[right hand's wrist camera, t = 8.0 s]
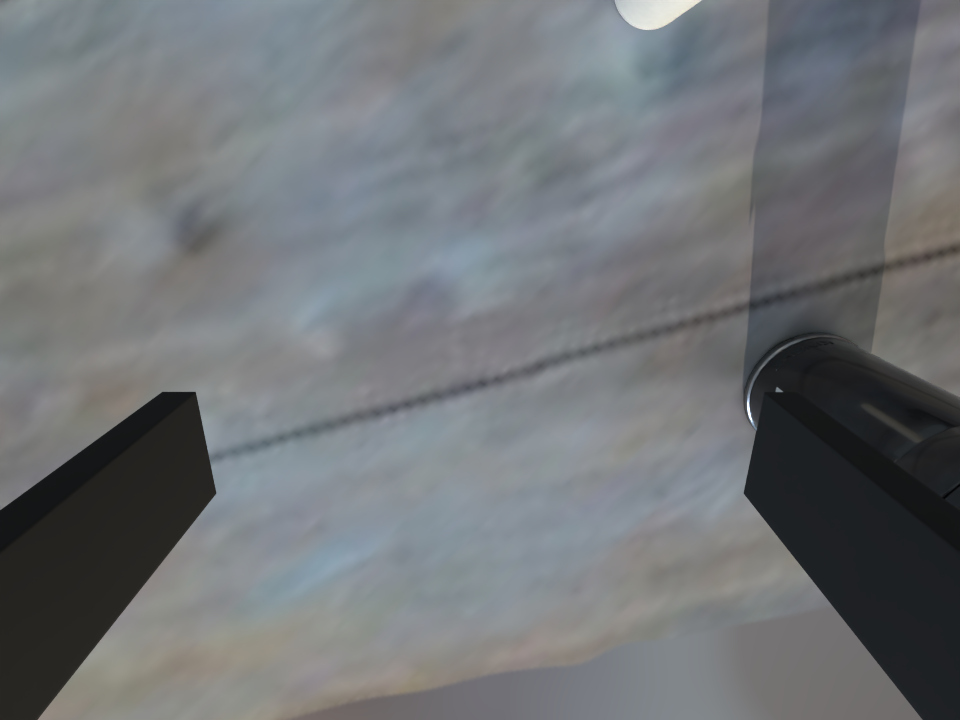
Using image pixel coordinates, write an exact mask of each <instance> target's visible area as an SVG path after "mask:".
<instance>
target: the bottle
mask: <svg viewBox="0 0 960 720" xmlns="http://www.w3.org/2000/svg"><path fill="white" fill-rule="evenodd" d="M700 1H701V0H615V4H616V6H617V9H618V11H619V13H620V14H621V16H622V17H623V18H624V19H625V20H626V21H627V22H628V23H629V24H631V25H632V26H634V27H636V28H639V29H644V30H652V29H657V28H660V27H663V26H665V25H667V24H669V23H670V22H671V21H673V20H674V19H676V18H677V17H679V16H680V15H681V14H683V13H684V12H686V11H687V10H689V9H690V8H691V7H693V6H694V5H696V4H697V3H699V2H700Z"/></svg>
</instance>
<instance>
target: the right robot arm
mask: <svg viewBox="0 0 960 720" xmlns="http://www.w3.org/2000/svg"><path fill="white" fill-rule="evenodd" d="M215 494H216V490H215V485H214V480H213V475H212V470H211V465H210V460H209V455H208V450H207V445H206V440H205V435H204V431H203V426H202V421H201V416H200V411H199V406H198V401H197V396H196V392H162V393H160V394H159V395H158V396H156V397H155V398H154V399H152V400H151V401H149V402H148V403H147V404H145V405H144V406H143V407H141V408H140V409H138V410H137V411H136V412H134V413H133V414H132V415H130V416H129V417H128V418H126V419H125V420H123V421H122V422H121V423H119V424H118V425H117V426H115V427H114V428H112V429H111V430H110V431H108V432H107V433H106V434H104V435H103V436H102V437H100V438H99V439H97V440H96V441H95V442H93V443H92V444H91V445H89V446H88V447H86V448H85V449H84V450H82V451H81V452H80V453H78V454H77V455H76V456H74V457H73V458H71V459H70V460H69V461H67V462H66V463H65V464H63V465H62V466H60V467H59V468H58V469H56V470H55V471H54V472H52V473H51V474H49V475H48V476H47V477H45V478H44V479H43V480H41V481H40V482H39V483H37V484H36V485H34V486H33V487H32V488H30V489H29V490H28V491H26V492H25V493H23V494H22V495H21V496H19V497H18V498H17V499H15V500H14V501H13V502H11V503H10V504H8V505H7V506H6V507H4V508H3V509H2V510H0V720H37V719H38V718H39V717H40V716H41V714H42V713H43V712H44V711H45V709H46V708H47V707H48V706H49V704H50V703H51V702H52V700H53V699H54V698H55V697H56V695H57V694H58V693H59V692H60V690H61V689H62V688H63V687H64V685H65V684H66V683H67V682H68V680H69V679H70V678H71V676H72V675H73V674H74V673H75V671H76V670H77V669H78V668H79V666H80V665H81V664H82V663H83V661H84V660H85V659H86V658H87V656H88V655H89V654H90V652H91V651H92V650H93V649H94V647H95V646H96V645H97V644H98V642H99V641H100V640H101V639H102V637H103V636H104V635H105V633H106V632H107V631H108V630H109V628H110V627H111V626H112V625H113V623H114V622H115V621H116V620H117V618H118V617H119V616H120V615H121V613H122V612H123V611H124V609H125V608H126V607H127V606H128V604H129V603H130V602H131V601H132V599H133V598H134V597H135V596H136V594H137V593H138V592H139V591H140V589H141V588H142V587H143V585H144V584H145V583H146V582H147V580H148V579H149V578H150V577H151V575H152V574H153V573H154V572H155V570H156V569H157V568H158V566H159V565H160V564H161V563H162V561H163V560H164V559H165V558H166V556H167V555H168V554H169V553H170V551H171V550H172V549H173V548H174V546H175V545H176V544H177V542H178V541H179V540H180V539H181V537H182V536H183V535H184V534H185V532H186V531H187V530H188V529H189V527H190V526H191V525H192V524H193V522H194V521H195V520H196V518H197V517H198V516H199V515H200V513H201V512H202V511H203V510H204V508H205V507H206V506H207V505H208V503H209V502H210V501H211V499H212V498H213V497H214V496H215ZM744 494H745V496H746V497H747V498H748V499H749V501H750V502H751V503H752V505H753V506H754V507H755V508H756V510H757V511H758V512H759V513H760V515H761V516H762V517H763V518H764V520H765V521H766V522H767V524H768V525H769V526H770V527H771V529H772V530H773V531H774V532H775V534H776V535H777V536H778V537H779V539H780V540H781V541H782V542H783V544H784V545H785V546H786V548H787V549H788V550H789V551H790V553H791V554H792V555H793V556H794V558H795V559H796V560H797V561H798V563H799V564H800V565H801V566H802V568H803V569H804V570H805V572H806V573H807V574H808V575H809V577H810V578H811V579H812V580H813V582H814V583H815V584H816V585H817V587H818V588H819V589H820V591H821V592H822V593H823V594H824V596H825V597H826V598H827V599H828V601H829V602H830V603H831V604H832V606H833V607H834V608H835V609H836V611H837V612H838V613H839V615H840V616H841V617H842V618H843V620H844V621H845V622H846V623H847V625H848V626H849V627H850V628H851V630H852V631H853V632H854V633H855V635H856V636H857V637H858V639H859V640H860V641H861V642H862V644H863V645H864V646H865V647H866V649H867V650H868V651H869V652H870V654H871V655H872V656H873V658H874V659H875V660H876V661H877V663H878V664H879V665H880V666H881V668H882V669H883V670H884V671H885V673H886V674H887V675H888V676H889V678H890V679H891V680H892V681H893V683H894V684H895V685H896V687H897V688H898V689H899V690H900V692H901V693H902V694H903V695H904V697H905V698H906V699H907V700H908V702H909V703H910V704H911V705H912V707H913V708H914V709H915V711H916V712H917V713H918V714H919V716H920V717H921V718H922V719H923V720H960V508H959V507H957V506H953V505H952V504H950V503H949V502H947V501H946V500H945V499H943V498H942V497H941V496H939V495H938V494H937V493H935V492H934V491H932V490H931V489H930V488H928V487H927V486H926V485H924V484H923V483H921V482H920V481H919V480H917V479H916V478H915V477H913V476H912V475H911V474H909V473H908V472H906V471H905V470H904V469H902V468H901V467H900V466H898V465H897V464H895V463H894V462H893V461H891V460H890V459H889V458H887V457H886V456H884V455H883V454H882V453H880V452H879V451H878V450H876V449H875V448H874V447H872V446H871V445H869V444H868V443H867V442H865V441H864V440H863V439H861V438H860V437H858V436H857V435H856V434H854V433H853V432H852V431H850V430H849V429H848V428H846V427H845V426H843V425H842V424H841V423H839V422H838V421H837V420H835V419H834V418H832V417H831V416H830V415H828V414H827V413H826V412H824V411H823V410H822V409H820V408H819V407H817V406H816V405H815V404H813V403H812V402H811V401H809V400H808V399H806V398H805V397H804V396H802V395H801V394H800V393H798V392H764V396H763V401H762V406H761V411H760V416H759V421H758V426H757V431H756V435H755V440H754V445H753V450H752V455H751V460H750V465H749V470H748V475H747V480H746V485H745V490H744Z"/></svg>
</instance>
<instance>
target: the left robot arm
mask: <svg viewBox="0 0 960 720" xmlns="http://www.w3.org/2000/svg"><path fill="white" fill-rule="evenodd" d="M764 392H798V393H800V394H801V395H802V396H804V397H805V398H806V399H808V400H809V401H811V402H812V403H813V404H815V405H816V406H817V407H819V408H820V409H822V410H823V411H824V412H826V413H827V414H828V415H830V416H831V417H832V418H834V419H835V420H837V421H838V422H839V423H841V424H842V425H843V426H845V427H846V428H848V429H849V430H850V431H852V432H853V433H854V434H856V435H857V436H858V437H860V438H861V439H863V440H864V441H865V442H867V443H868V444H869V445H871V446H872V447H874V448H875V449H876V450H878V451H879V452H880V453H882V454H883V455H884V456H886V457H887V458H889V459H890V460H891V461H893V462H894V463H895V464H897V465H898V466H900V467H901V468H902V469H904V470H905V471H906V472H908V473H909V474H911V475H912V476H913V477H915V478H916V479H917V480H919V481H920V482H921V483H923V484H924V485H926V486H927V487H928V488H930V489H931V490H932V491H934V492H935V493H937V494H938V495H939V496H941V497H942V498H943V499H945V500H946V501H947V502H949V503H950V504H952V505H953V506H957V507H959V508H960V397H958V396H956V395H954V394H951V393H949V392H947V391H945V390H943V389H941V388H939V387H937V386H935V385H933V384H931V383H929V382H927V381H925V380H923V379H921V378H919V377H917V376H915V375H913V374H911V373H909V372H907V371H905V370H903V369H901V368H899V367H897V366H895V365H893V364H891V363H889V362H887V361H885V360H883V359H881V358H879V357H877V356H875V355H873V354H871V353H869V352H867V351H865V350H863V349H861V348H859V347H858V346H857V345H855V344H854V343H852V342H850V341H848V340H846V339H844V338H842V337H839V336H837V335H833V334H827V333H810V334H804V335H800V336H797V337H794V338H791V339H789V340H786V341H785V342H783V343H781V344H779V345H778V346H776V347H774V348H773V349H772V350H771V351H769V352H768V353H767V354H766V355H765V356H764V357H763V358H762V359H761V360H760V361H759V362H758V364H757V365H756V366H755V368H754V369H753V371H752V373H751V374H750V376H749V378H748V381H747V384H746V387H745V391H744V409H745V413H746V416H747V419H748V421H749V423H750V424H751V426H752V427H753V428H754V429H755V430H756V431H757V426H758V421H759V416H760V411H761V406H762V401H763V396H764Z"/></svg>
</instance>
